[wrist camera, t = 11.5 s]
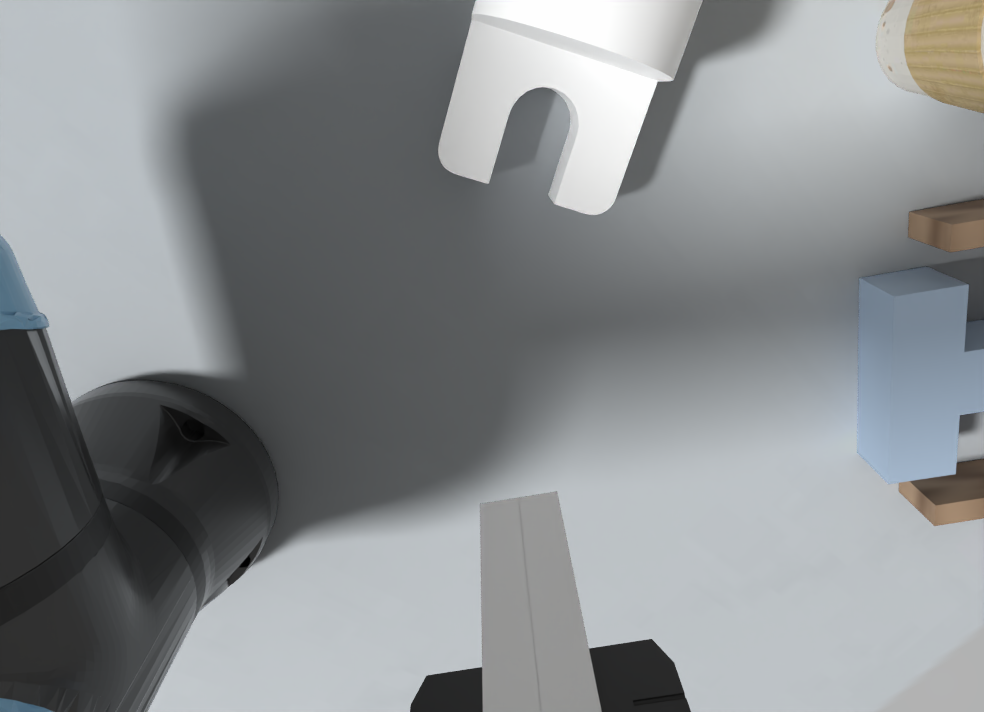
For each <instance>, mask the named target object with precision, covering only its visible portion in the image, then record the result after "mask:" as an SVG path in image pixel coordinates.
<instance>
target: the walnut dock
mask: <svg viewBox="0 0 984 712" xmlns="http://www.w3.org/2000/svg"><path fill="white" fill-rule="evenodd" d="M908 237H909V238H912V239H914V240H917V241H920V242H923V243H925V244H928V245H931V246H934V247H937V248H939V249H942V250H945V251H948V252H956V251H962V250H968V249H974V248H979V247H984V199H980V200H974V201H969V202H963V203H957V204H951V205H946V206H940V207H934V208H928V209H923V210H917V211H911V212H909V227H908ZM899 492H900V493H901V494H902V495H903V496H904V497H905V498H906V499H907V500H908V501H909V502H910V503H911V504H912V505H913V506H914V507H915V508H916V509H917V510H918V511H920V512H921V513H922V514H923V515H924V516H925V517H926V518H927V519H928V520H929V521H930V522H931V523H932V524H933V525H934V526H938V525H944V524H950V523H957V522H963V521H969V520H976V519H982V518H984V459H980V460H973V461H967V462H961V463H956V474H953V475H947V476H940V477H933V478H927V479H920V480H913V481H907V482H900V483H899Z"/></svg>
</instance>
